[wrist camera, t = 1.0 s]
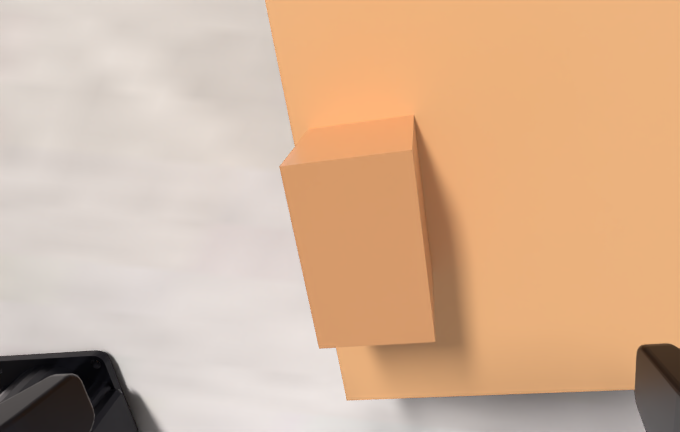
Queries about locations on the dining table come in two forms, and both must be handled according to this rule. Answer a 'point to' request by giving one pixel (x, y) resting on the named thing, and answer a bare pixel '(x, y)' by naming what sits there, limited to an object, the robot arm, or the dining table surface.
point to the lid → (484, 189)
